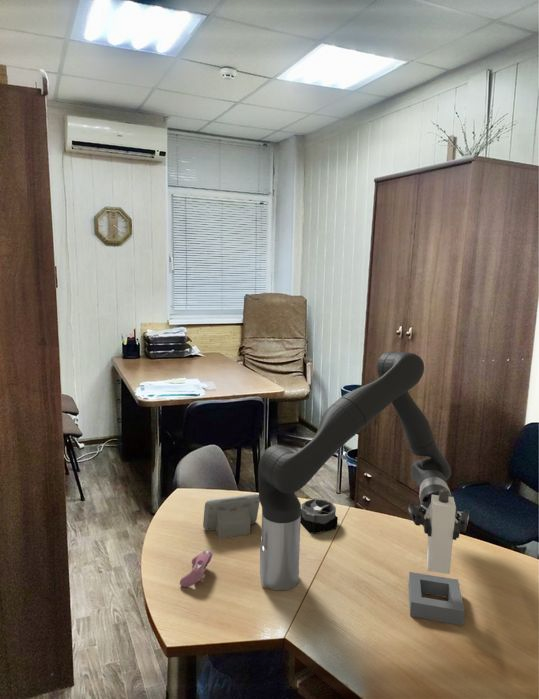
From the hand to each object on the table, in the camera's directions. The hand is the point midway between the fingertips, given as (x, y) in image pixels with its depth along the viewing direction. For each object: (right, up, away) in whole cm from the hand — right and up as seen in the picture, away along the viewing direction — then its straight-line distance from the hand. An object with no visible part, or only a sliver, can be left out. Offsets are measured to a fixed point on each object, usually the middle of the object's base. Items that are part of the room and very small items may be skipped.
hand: (442, 534), depth 107 cm
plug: (0, -9, +4) cm, 10 cm away
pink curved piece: (-55, -16, +14) cm, 59 cm away
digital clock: (-48, -12, +36) cm, 61 cm away
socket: (0, -18, +6) cm, 19 cm away
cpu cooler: (-23, -12, +39) cm, 47 cm away
